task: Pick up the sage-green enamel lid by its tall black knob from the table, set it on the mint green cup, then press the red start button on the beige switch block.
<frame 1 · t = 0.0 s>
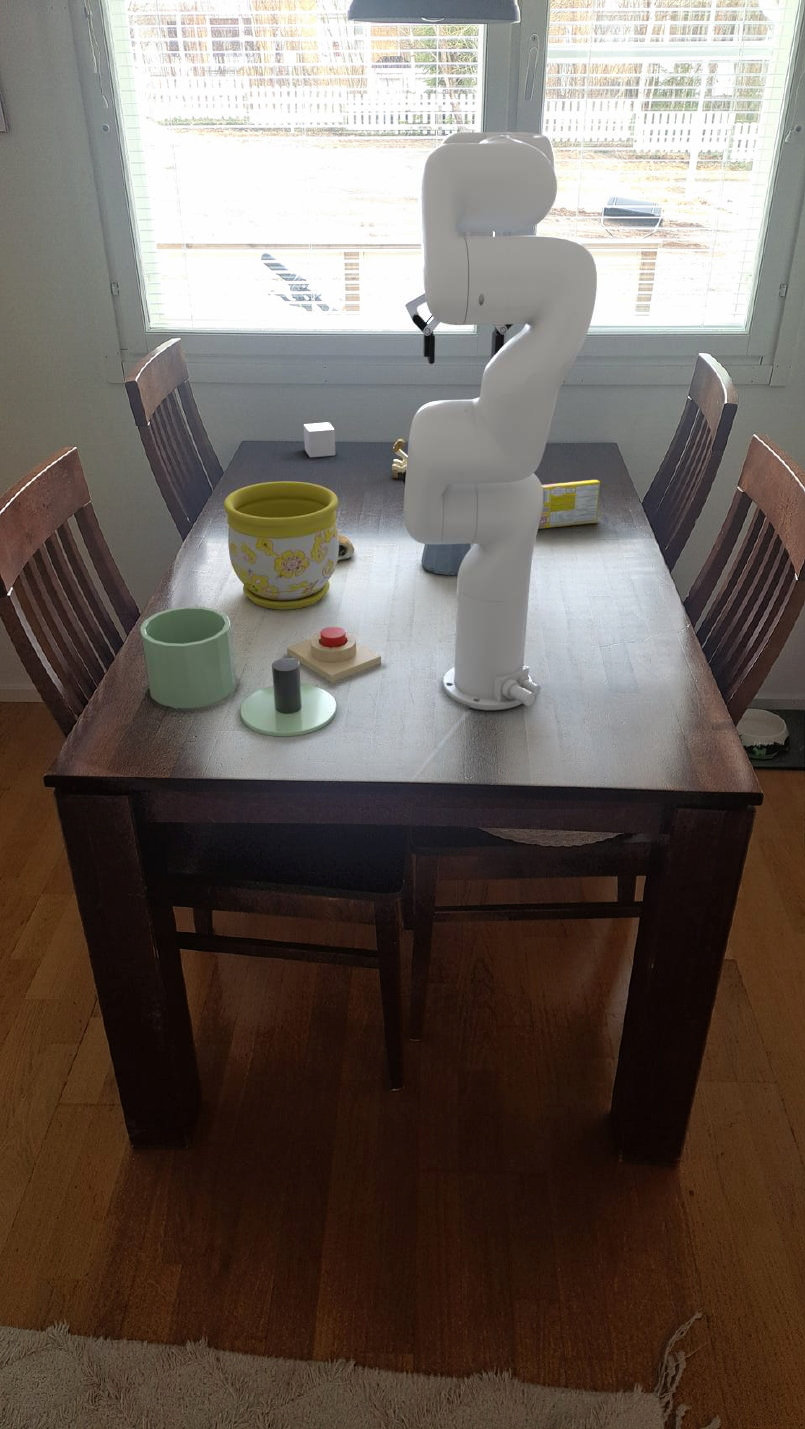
hand: (463, 361, 149), 37 cm above the table, tool pointing down, fingers open, 9 cm apart
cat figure: (450, 477, 220), on the table
lid: (288, 710, 135), point 1 cm above the table
flowerpot: (287, 595, 168), on the table
switch block: (333, 661, 148), on the table
mint green cup: (193, 689, 141), on the table
button: (333, 637, 146), point 4 cm above the table, slide at 0.1 cm
white cube: (320, 453, 235), on the table
moka pot: (444, 567, 178), on the table
pastry: (332, 555, 183), on the table
candy box: (556, 526, 195), on the table
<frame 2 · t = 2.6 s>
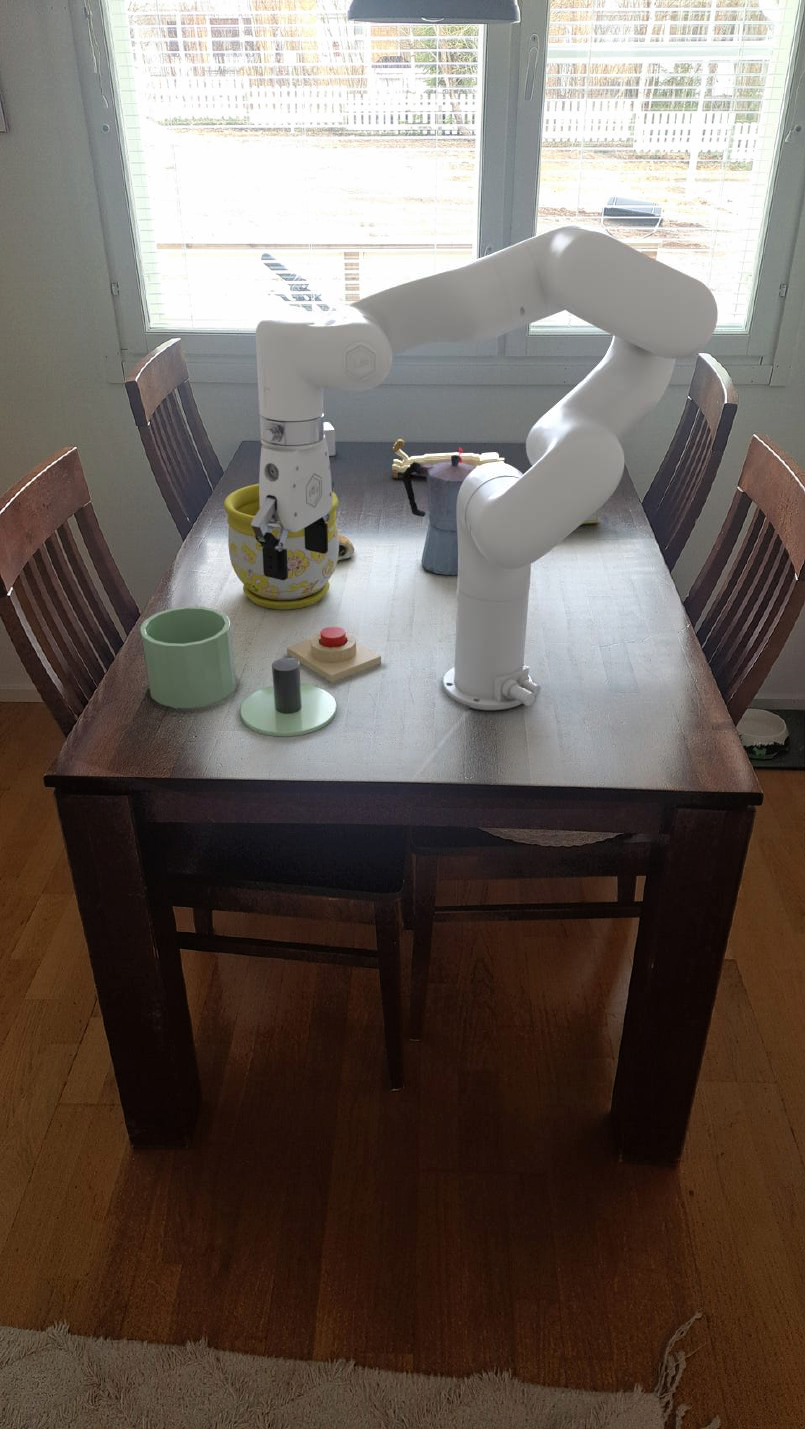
hand: (296, 564, 128), 20 cm above the table, tool pointing down, fingers open, 9 cm apart
nothing on the table moved.
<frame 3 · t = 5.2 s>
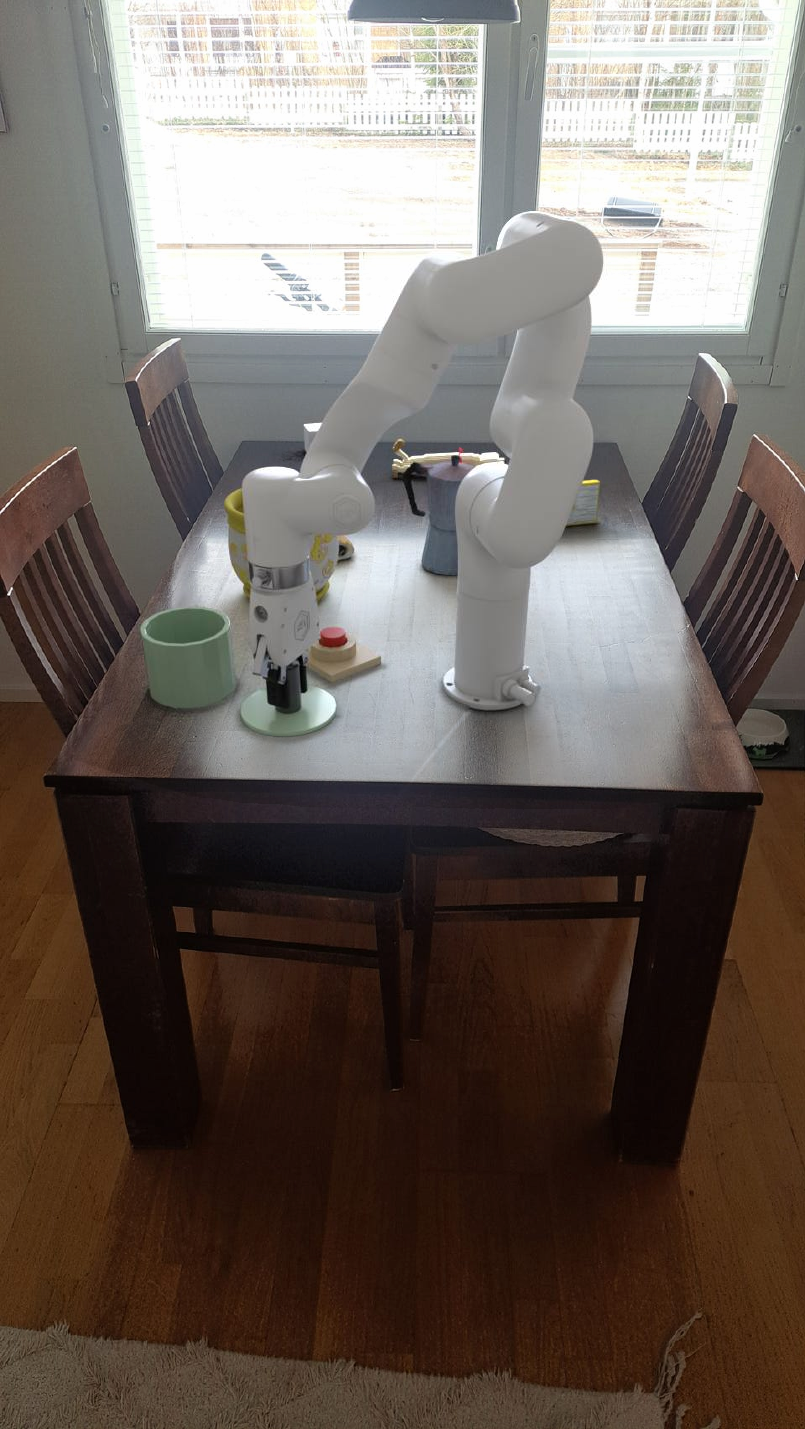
hand: (287, 696, 134), 3 cm above the table, tool pointing down, fingers closed on lid, 3 cm apart
lid: (288, 710, 135), point 1 cm above the table, touching gripper
everything else where it was.
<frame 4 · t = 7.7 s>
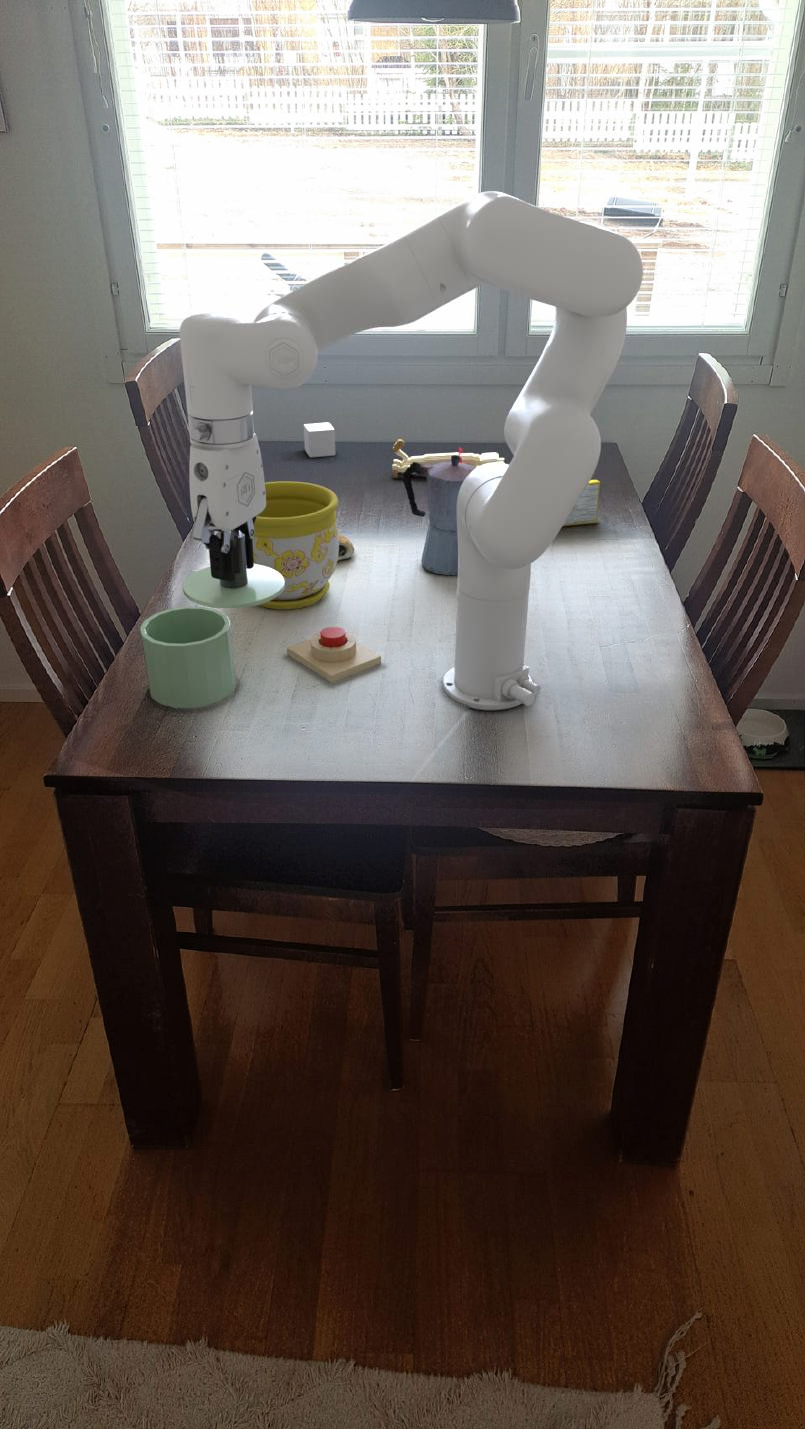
hand: (232, 571, 127), 20 cm above the table, tool pointing down, fingers closed on lid, 3 cm apart
lid: (234, 587, 128), point 17 cm above the table, touching gripper
everything else where it was.
when the fingers open (12 cm above the table, at t = 10.5 s): lid stays where it is, resting on mint green cup.
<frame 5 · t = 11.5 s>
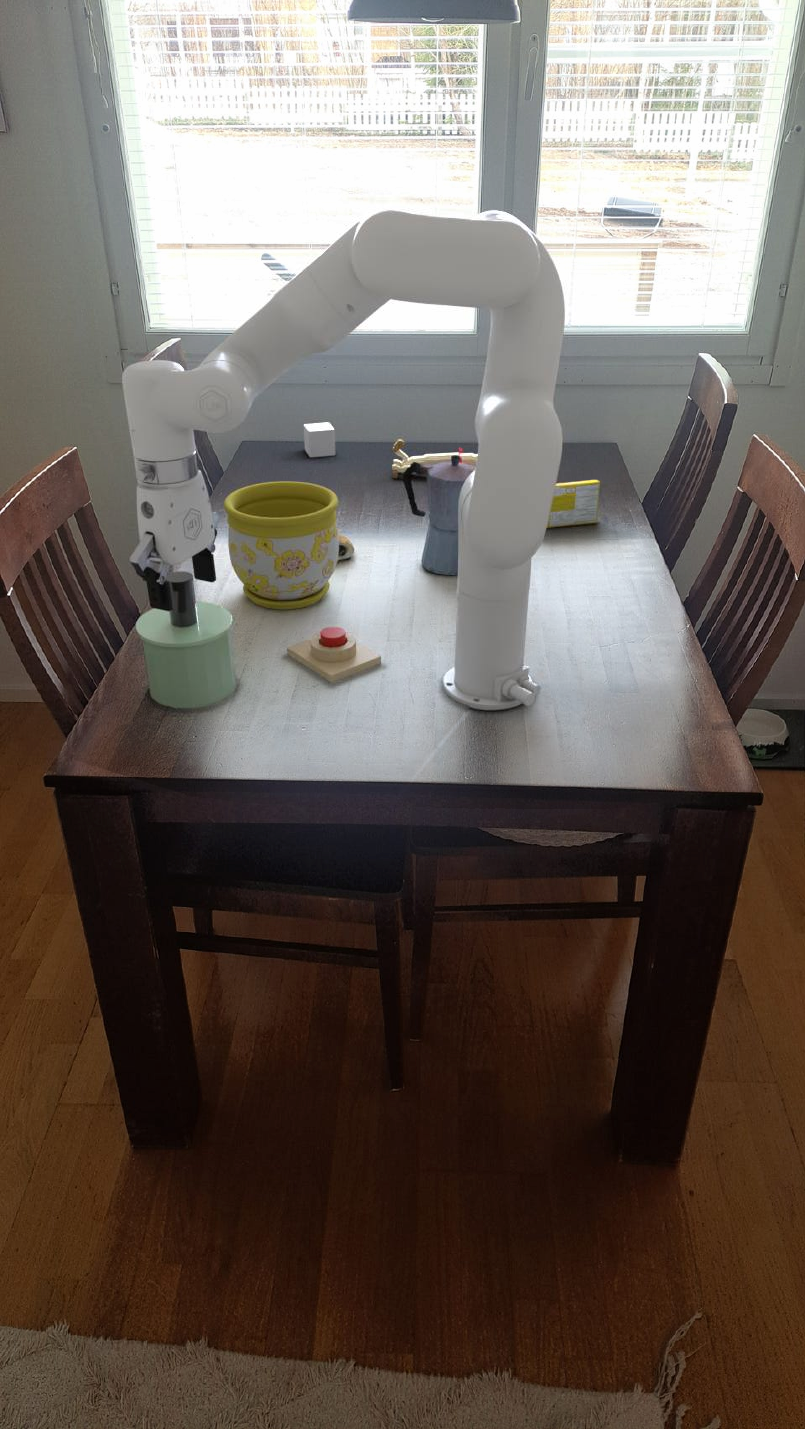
hand: (184, 594, 133), 15 cm above the table, tool pointing down, fingers open, 9 cm apart
lid: (184, 625, 136), point 10 cm above the table, touching mint green cup
everything else where it was.
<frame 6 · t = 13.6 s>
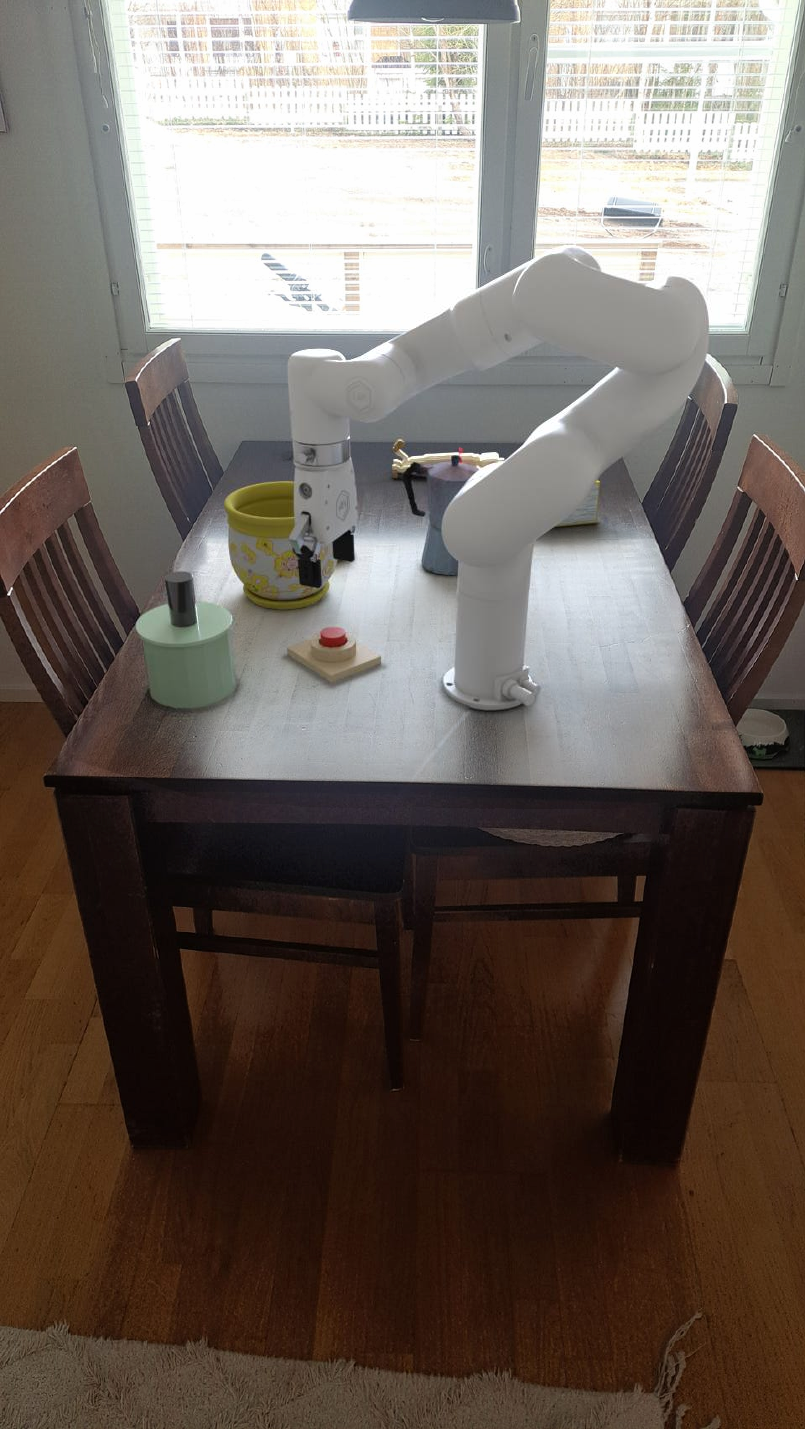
hand: (327, 572, 140), 14 cm above the table, tool pointing down, fingers open, 9 cm apart
nothing on the table moved.
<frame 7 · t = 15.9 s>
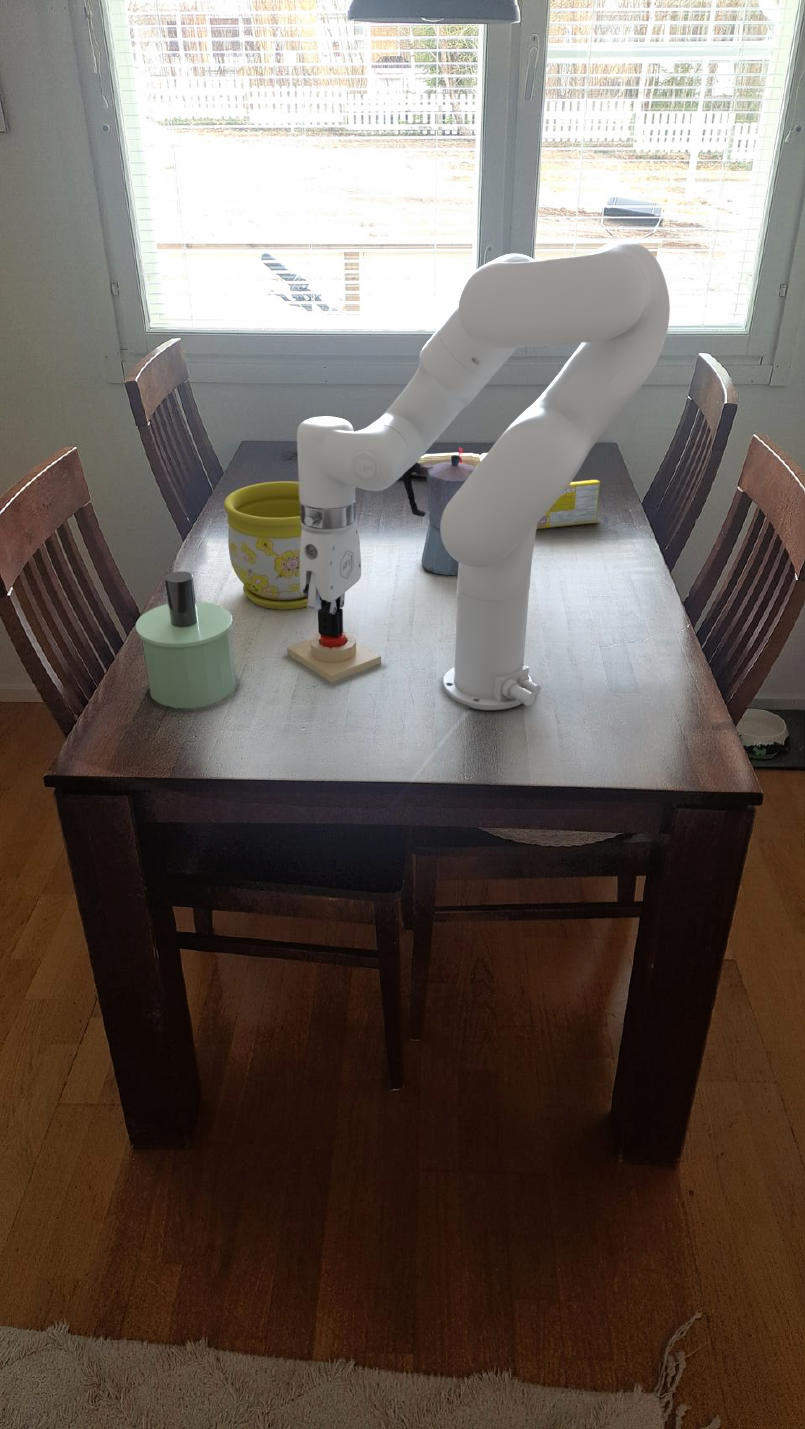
hand: (330, 633, 146), 5 cm above the table, tool pointing down, fingers closed
button: (333, 639, 146), point 4 cm above the table, slide at -0.2 cm, touching gripper
everything else where it was.
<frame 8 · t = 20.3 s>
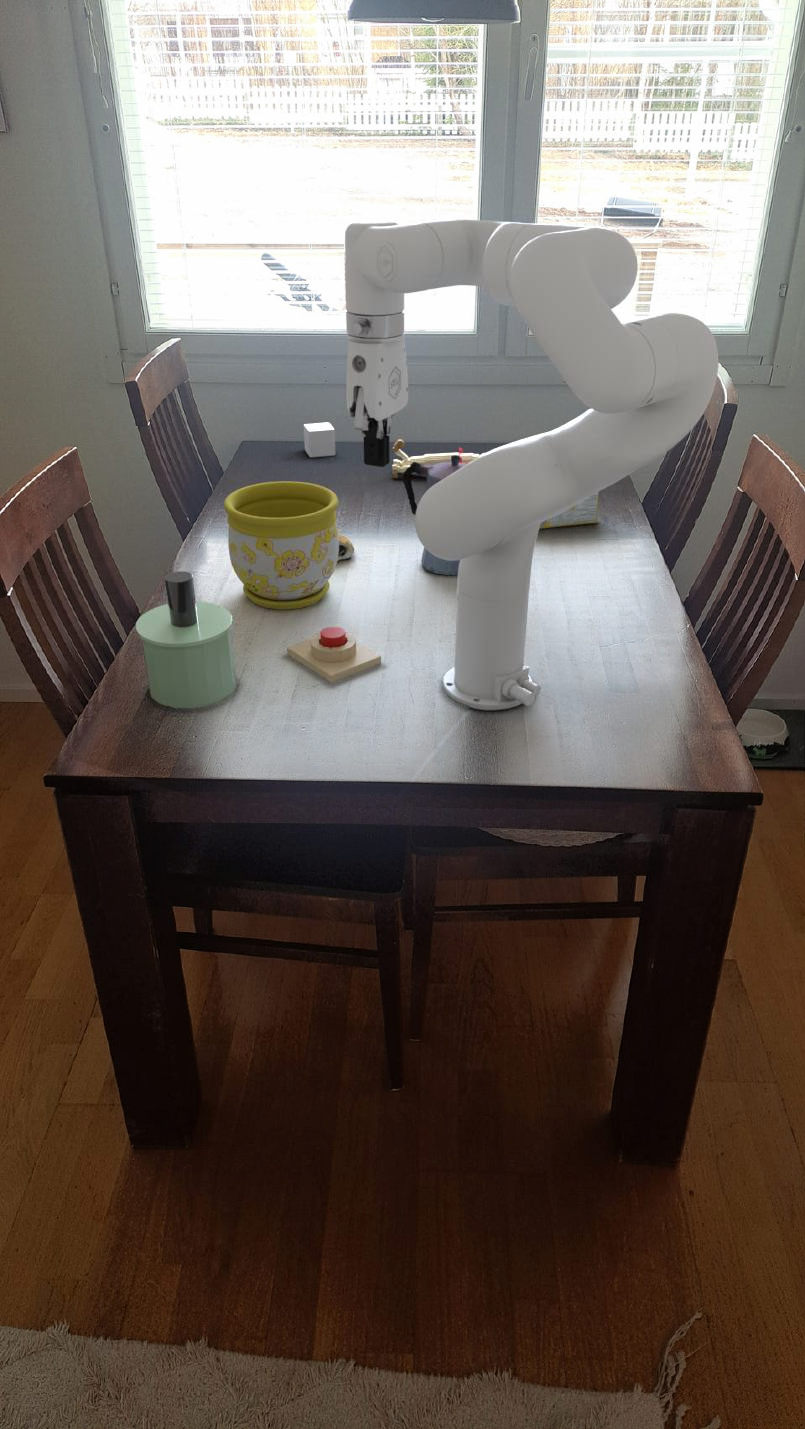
hand: (376, 464, 140), 27 cm above the table, tool pointing down, fingers closed
button: (333, 637, 146), point 4 cm above the table, slide at 0.1 cm
everything else where it was.
at the end: lid 0.1 cm off-centre on the mint green cup, point 10.0 cm above the mint green cup's base; lid tilted 0°; button pushed in 1.1 cm at the most during the clip, back to where it started at the end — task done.
